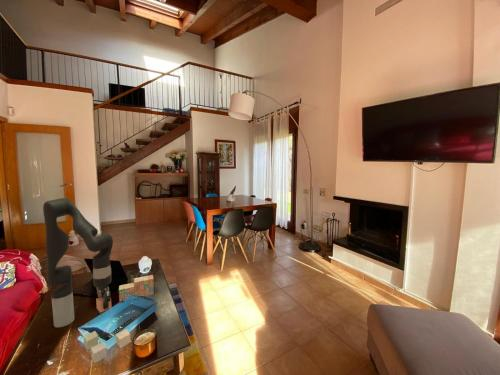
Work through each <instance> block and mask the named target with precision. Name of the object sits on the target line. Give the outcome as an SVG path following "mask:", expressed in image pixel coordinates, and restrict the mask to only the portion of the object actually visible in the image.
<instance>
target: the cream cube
mask: <svg viewBox="0 0 500 375" xmlns="http://www.w3.org/2000/svg"><path fill="white" fill-rule="evenodd" d="M115 342H116V345H117V346H118V347H119V349H122V348H123V347H124V348H125V347H126V346H127V345H129V344H131V333H130V332H129V330H128V329H127V328H126V329H123V330H122V331H120V332H118V333H116V334H115Z"/></svg>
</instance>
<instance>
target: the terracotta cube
mask: <svg viewBox="0 0 500 375" xmlns="http://www.w3.org/2000/svg"><path fill="white" fill-rule="evenodd" d="M95 300H96V302H95V303H96V310H97V311H98V312H99V313H100V314H101V313H102V312H105V311H108V310H109V309H112V298H111V299H110V302H109V308H107V309H105V310H104V309H103V300H102V298H101V297H100V298H99V297H98V298H96V299H95Z"/></svg>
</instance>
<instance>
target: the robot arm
mask: <svg viewBox="0 0 500 375" xmlns="http://www.w3.org/2000/svg"><path fill="white" fill-rule="evenodd" d="M42 211H43V213H42V214H43V217H44V226H45V251H46V273H45V274H46V275H45V279H46V285H47V286H48V287H56V286H58V287H56V288H55V289H54V290H52V292H51V293H50V294H51V295H50V296H51V306H52V318H53V326H54V327H55V328H63V327H66V326H68V325H71V324H72V323H73V321H75V307H74V294H73V271H72V267H71V265H69V264H67V265H63V266H60V267H57V265H58V264H59V262H60V260H62V258H63V257H64V256H65V254H66V253H67V251H68V250H69V246H70V245H69V243H70V242H69V235H68V234H67V232H65V231H64V230H63V229H62V228H60V226H59V225H58V222H57V221H58V220H57V219H58V218H61V217H64V216H67V215H68V216H70V217H71V218H72V230H73V231H74V233H76V234H77V235H78V236H79V237H80V238H82V240H83V241H84V242H83V243H84V244H85V246H86V248H87V249H88V251H90V252H93V253H96V254H95V255H94V256H93V257H92V280H93V287H95V289H96V295H97V297H98V298H100V297H101V298H102V300H103V309H104V310H105V309H107V308H109V302H110V299H111V300H112V298H111V297H112V296H111V295H112V291H111V290H110V287H109V284H111V283H112V281H113V280H112V267H111V257H110V256H111V253H112V249H113V246H114V245H113V244H114V238H113V237H112V235H110V234H109V233H104V234H101V235H98V233H99V231H98V229H97V228H96V227H95V226H94V225H93V224H92V223H91V222H90V221H88V220H87V219H86V218H85V216H84V215H83V214H82V213H81V212H80V210H79V209H78V208H77V206H76V204H75V203H74V202H73V201H72V200H71V199H69V198H66V197H63V198H57V199H52V200H47V201H45V202H44V203H43V205H42ZM97 252H98V253H97ZM107 310H108V309H107ZM105 311H106V310H105Z"/></svg>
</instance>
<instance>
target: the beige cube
mask: <svg viewBox="0 0 500 375" xmlns="http://www.w3.org/2000/svg"><path fill="white" fill-rule="evenodd" d="M107 353H108V352H107V346H106V344H105V343H104V341H101V342H99V344H97V345H96V346H94V347H92V348H91V349H90V356H91V357H90V358H91V359H92V362H93V363H94V364H96V363H98V362H100V361H101V360H103V359H105V358H107V356H108V355H107Z"/></svg>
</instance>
